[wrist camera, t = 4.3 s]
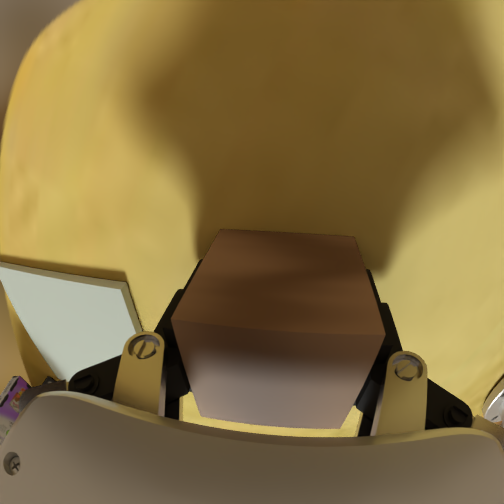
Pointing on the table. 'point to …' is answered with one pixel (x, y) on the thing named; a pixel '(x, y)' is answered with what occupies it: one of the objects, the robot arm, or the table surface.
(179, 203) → the table surface
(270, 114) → the table surface
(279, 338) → the cube
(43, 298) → the mat
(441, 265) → the table surface
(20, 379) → the candy box
